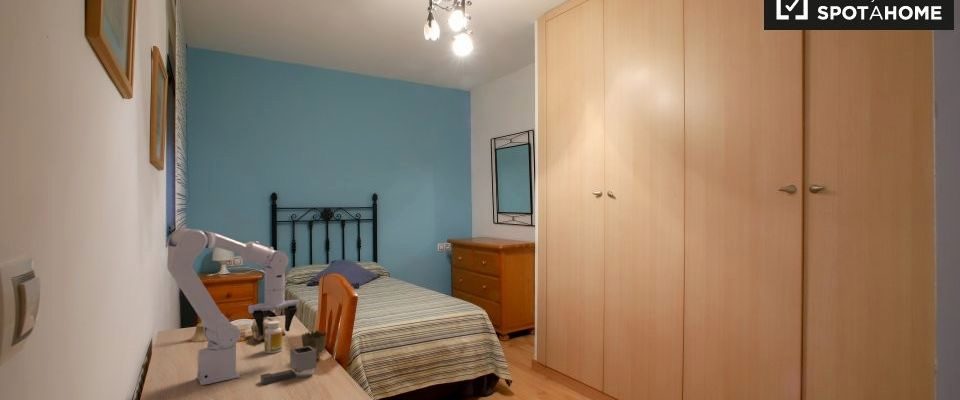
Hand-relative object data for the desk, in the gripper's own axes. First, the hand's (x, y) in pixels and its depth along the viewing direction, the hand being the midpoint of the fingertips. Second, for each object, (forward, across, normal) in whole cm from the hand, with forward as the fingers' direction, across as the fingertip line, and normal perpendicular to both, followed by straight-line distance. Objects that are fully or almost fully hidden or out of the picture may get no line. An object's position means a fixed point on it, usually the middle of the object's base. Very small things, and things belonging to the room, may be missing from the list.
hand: (274, 332), depth 143 cm
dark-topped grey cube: (+7, +4, -15) cm, 17 cm away
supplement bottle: (+10, +3, +12) cm, 16 cm away
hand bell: (+10, -13, +42) cm, 45 cm away
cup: (+10, +11, -4) cm, 15 cm away
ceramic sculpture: (+10, +5, +29) cm, 31 cm away
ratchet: (+9, 0, -15) cm, 18 cm away
